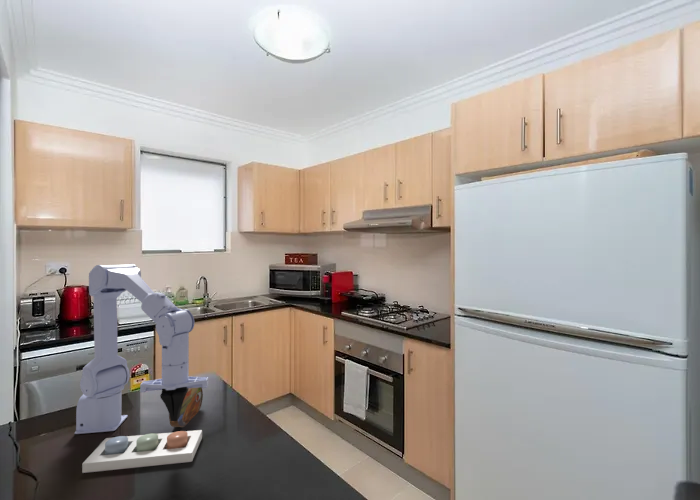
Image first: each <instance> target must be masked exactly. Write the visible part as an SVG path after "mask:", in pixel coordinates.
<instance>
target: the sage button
mask: <svg viewBox="0 0 700 500" xmlns="http://www.w3.org/2000/svg"><path fill="white" fill-rule="evenodd" d="M157 434H158V433H146V434H142V435H143V436H141V437H139V438H138V439H137V441H136V452H143V451H153V450H156V448H157V447H158V435H157Z"/></svg>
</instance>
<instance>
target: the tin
mask: <svg viewBox="0 0 700 500" xmlns="http://www.w3.org/2000/svg"><path fill="white" fill-rule="evenodd" d="M203 395H204V393H203V388H202V387H198V388H189V389H188V391H187V393H186V396H185V398H184V401H183V404H182V407H181V411H180V417H179V419H178V420H177V421H171V419H170V415H169V414H168V420H169V424H170V426H171V427H172V428H185V427H186V426H187V425H188V424H189V422H190V421H191V420H193V418H194V417H196V415H197V414H198V413H199V411H200V409H201V408H202V404H203V397H204V396H203Z"/></svg>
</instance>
